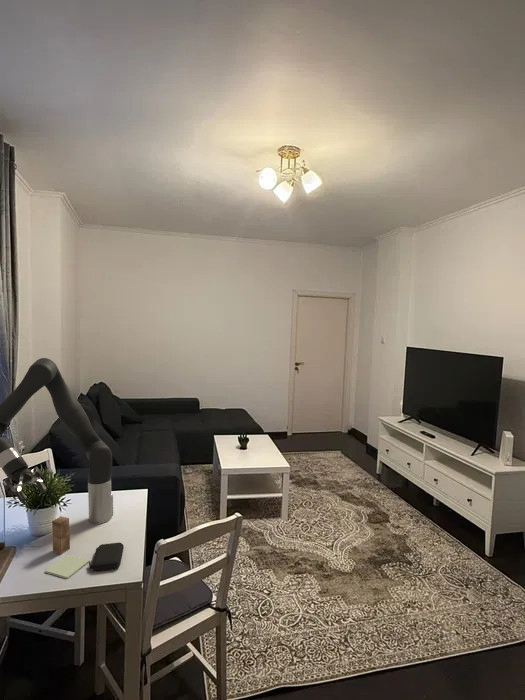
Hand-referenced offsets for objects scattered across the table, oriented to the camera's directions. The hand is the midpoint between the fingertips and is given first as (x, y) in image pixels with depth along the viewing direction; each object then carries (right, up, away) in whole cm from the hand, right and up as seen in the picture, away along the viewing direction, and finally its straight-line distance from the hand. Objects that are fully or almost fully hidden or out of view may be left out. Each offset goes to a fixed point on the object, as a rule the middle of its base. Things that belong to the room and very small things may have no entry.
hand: (35, 495), depth 152 cm
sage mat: (+18, -20, -12) cm, 30 cm away
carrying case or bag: (+30, -21, -8) cm, 37 cm away
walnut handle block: (+11, -20, -2) cm, 23 cm away
